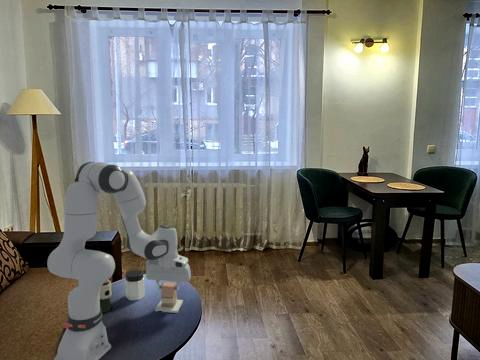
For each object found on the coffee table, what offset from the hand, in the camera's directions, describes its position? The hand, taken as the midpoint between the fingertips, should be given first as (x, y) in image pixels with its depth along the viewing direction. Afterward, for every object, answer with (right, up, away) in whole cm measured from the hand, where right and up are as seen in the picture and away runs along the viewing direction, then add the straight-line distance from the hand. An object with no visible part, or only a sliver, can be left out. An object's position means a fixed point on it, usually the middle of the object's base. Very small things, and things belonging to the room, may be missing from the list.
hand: (168, 288), depth 185 cm
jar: (-18, -7, +11) cm, 22 cm away
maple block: (0, -8, +2) cm, 8 cm away
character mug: (-29, -9, -1) cm, 30 cm away
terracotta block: (0, -3, +1) cm, 3 cm away
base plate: (0, -9, +2) cm, 9 cm away
